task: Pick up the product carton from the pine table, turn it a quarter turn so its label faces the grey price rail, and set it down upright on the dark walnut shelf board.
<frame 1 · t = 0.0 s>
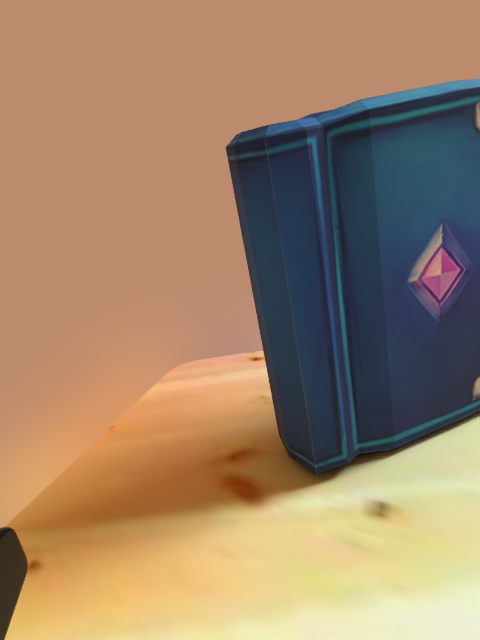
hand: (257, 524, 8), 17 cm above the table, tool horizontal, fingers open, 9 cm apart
book: (395, 423, 37), on the table
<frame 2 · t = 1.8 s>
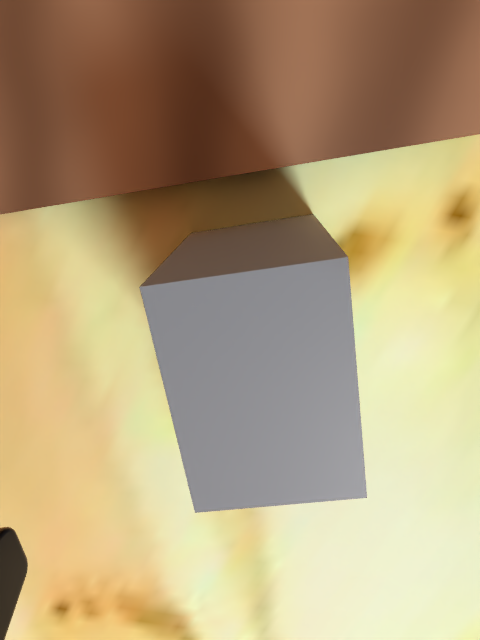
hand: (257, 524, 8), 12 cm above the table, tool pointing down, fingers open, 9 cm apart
carton: (263, 304, 19), on the table
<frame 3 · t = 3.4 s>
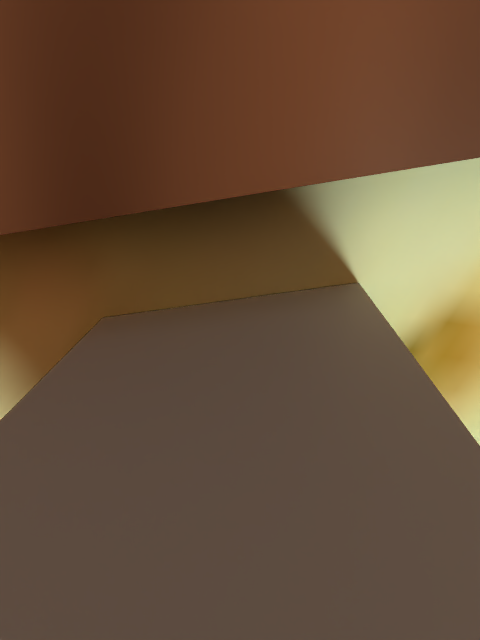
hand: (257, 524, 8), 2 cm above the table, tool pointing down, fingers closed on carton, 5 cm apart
carton: (253, 451, 10), on the table, touching gripper
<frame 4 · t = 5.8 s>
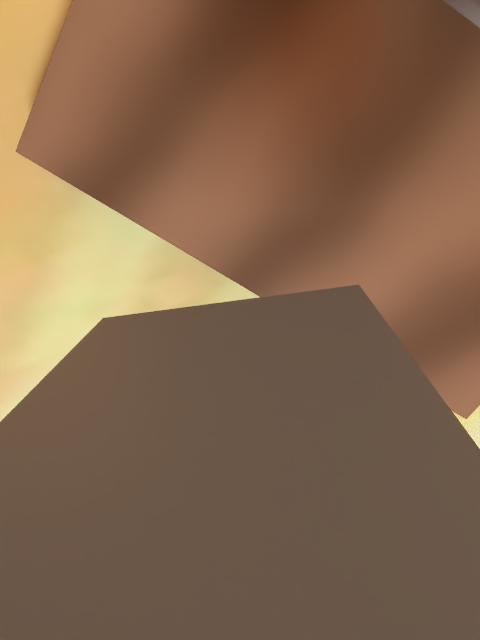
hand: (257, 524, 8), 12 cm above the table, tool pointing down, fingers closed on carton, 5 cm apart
carton: (253, 452, 10), point 10 cm above the table, touching gripper
shelf board: (345, 151, 16), on the table
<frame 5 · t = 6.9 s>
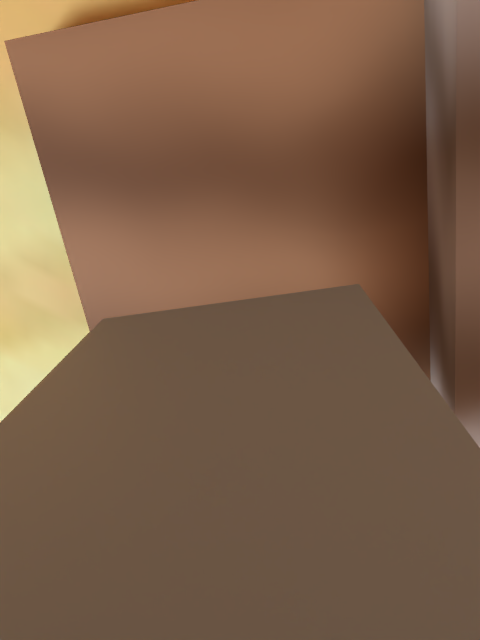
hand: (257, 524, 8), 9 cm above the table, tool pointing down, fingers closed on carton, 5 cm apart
carton: (253, 452, 10), point 7 cm above the table, touching gripper
shelf board: (277, 336, 16), on the table
when the fingers open (4 cm above the table, at t = 8.0 s): carton stays where it is, resting on shelf board.
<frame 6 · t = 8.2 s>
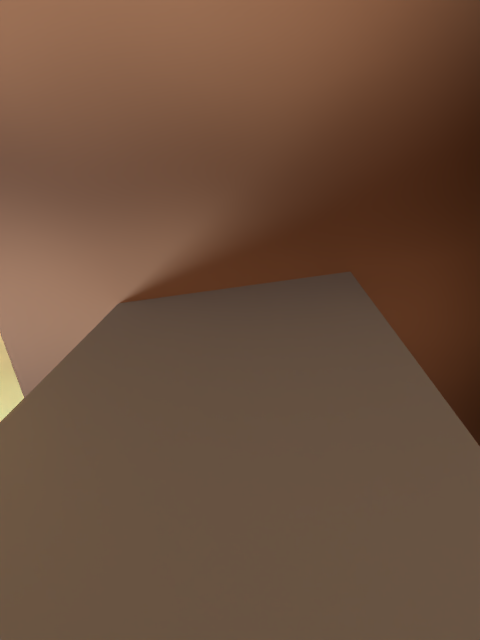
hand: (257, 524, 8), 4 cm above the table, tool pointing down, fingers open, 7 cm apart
carton: (254, 427, 11), point 1 cm above the table, touching shelf board
shelf board: (279, 393, 12), on the table
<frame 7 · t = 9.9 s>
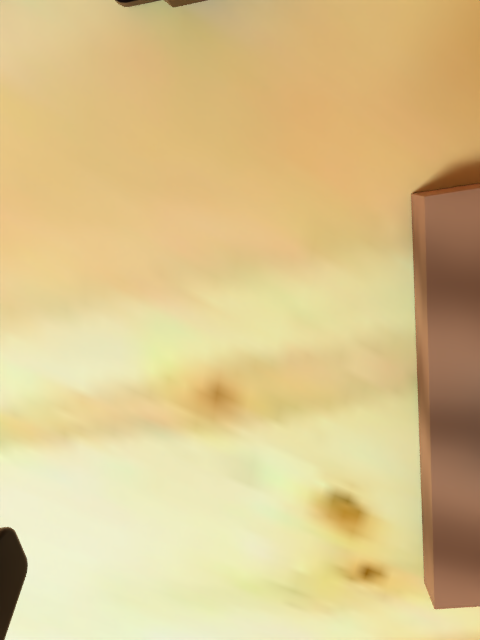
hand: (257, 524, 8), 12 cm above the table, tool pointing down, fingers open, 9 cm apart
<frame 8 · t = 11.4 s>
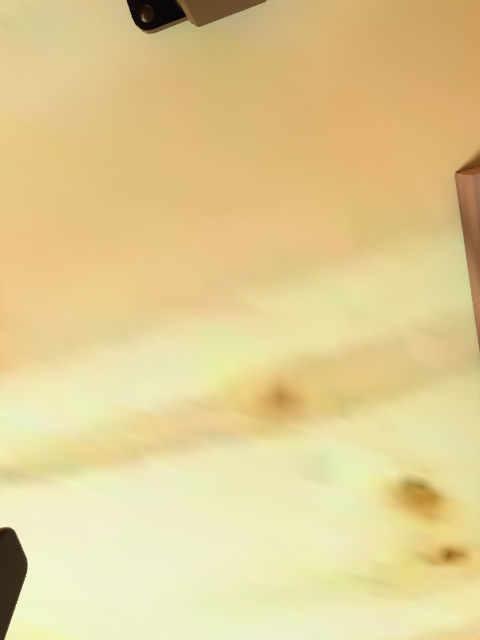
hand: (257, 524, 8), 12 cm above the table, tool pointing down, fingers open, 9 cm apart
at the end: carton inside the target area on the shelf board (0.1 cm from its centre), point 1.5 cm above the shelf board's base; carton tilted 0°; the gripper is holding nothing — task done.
